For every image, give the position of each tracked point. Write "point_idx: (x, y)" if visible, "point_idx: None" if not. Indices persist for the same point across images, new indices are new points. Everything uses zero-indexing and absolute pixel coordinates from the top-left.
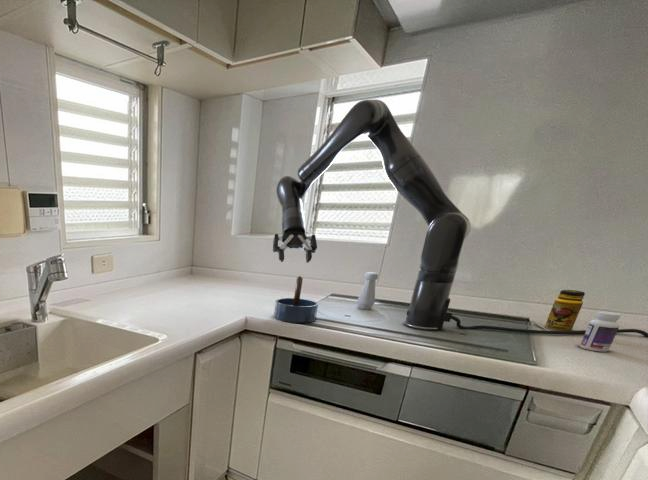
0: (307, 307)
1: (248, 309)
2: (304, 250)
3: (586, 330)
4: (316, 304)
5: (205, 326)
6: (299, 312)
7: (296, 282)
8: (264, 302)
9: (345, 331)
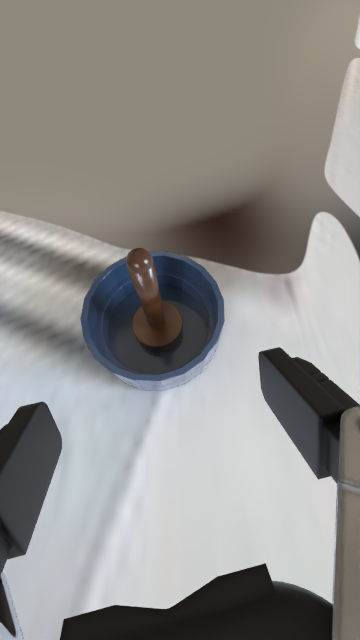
0: (122, 260)
1: None
2: (11, 621)
3: None
4: (89, 297)
5: (349, 189)
6: None
7: (154, 267)
8: None
9: (47, 254)
